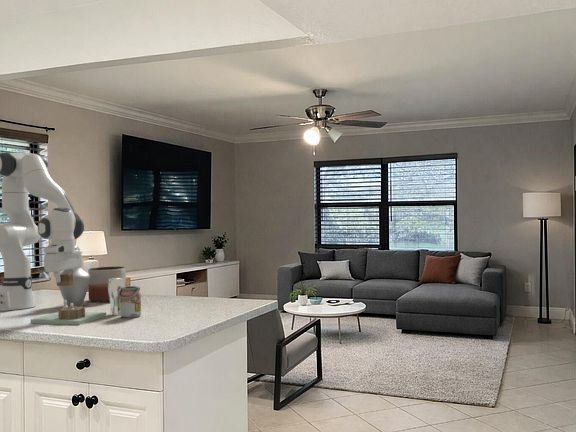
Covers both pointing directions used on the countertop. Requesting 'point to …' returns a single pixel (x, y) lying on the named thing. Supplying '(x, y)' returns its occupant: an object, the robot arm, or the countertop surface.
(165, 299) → the countertop surface
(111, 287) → the beer glass
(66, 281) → the gear
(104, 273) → the planter
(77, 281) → the vase
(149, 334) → the countertop surface
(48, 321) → the board
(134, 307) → the beverage can
